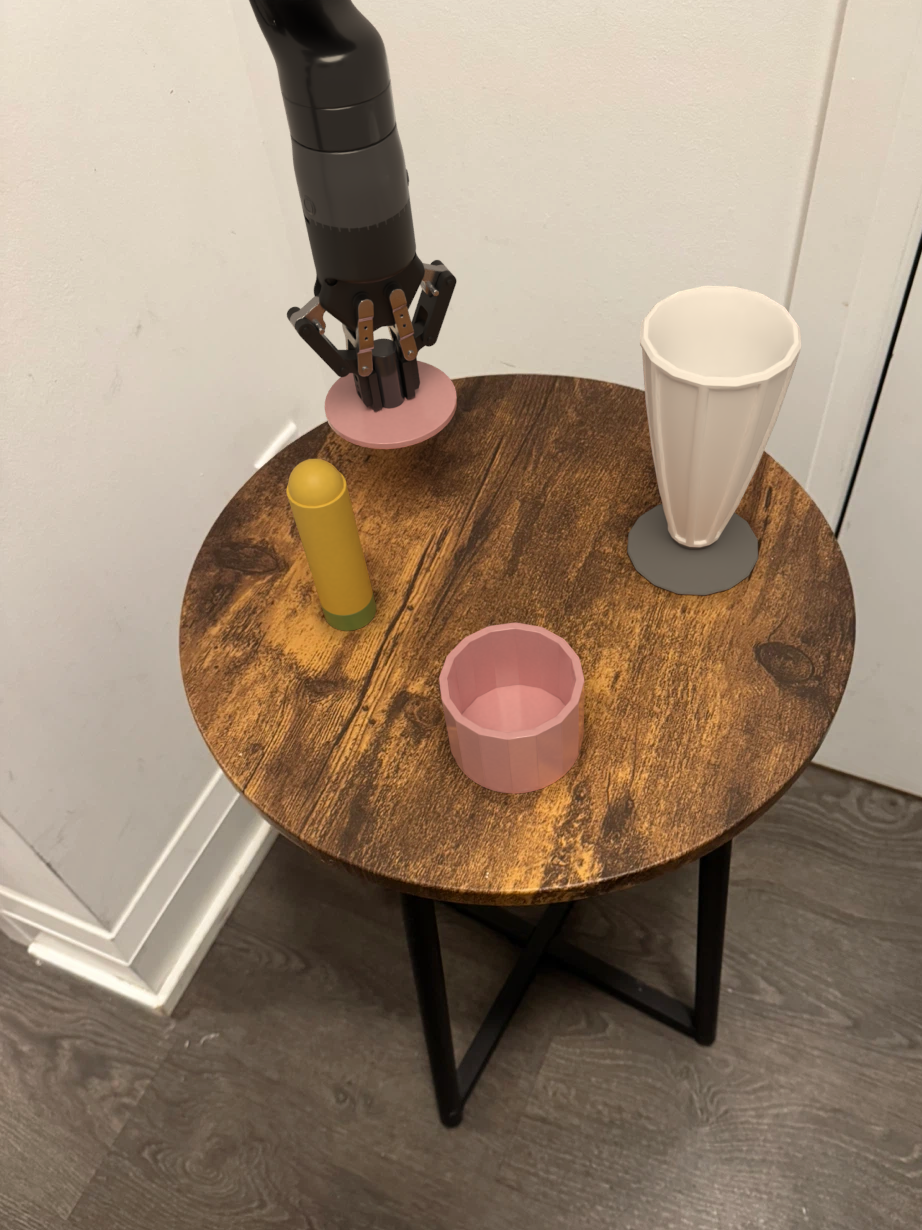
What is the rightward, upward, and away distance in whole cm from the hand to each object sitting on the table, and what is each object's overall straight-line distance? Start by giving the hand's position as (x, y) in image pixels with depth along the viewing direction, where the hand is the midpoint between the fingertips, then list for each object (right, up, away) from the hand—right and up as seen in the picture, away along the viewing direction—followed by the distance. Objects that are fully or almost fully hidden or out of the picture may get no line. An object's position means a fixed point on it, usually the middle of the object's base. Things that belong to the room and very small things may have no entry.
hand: (390, 398), depth 86 cm
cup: (+26, -12, +5) cm, 29 cm away
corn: (-4, -18, +1) cm, 18 cm away
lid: (0, 0, +1) cm, 1 cm away
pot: (+11, -28, -6) cm, 31 cm away
